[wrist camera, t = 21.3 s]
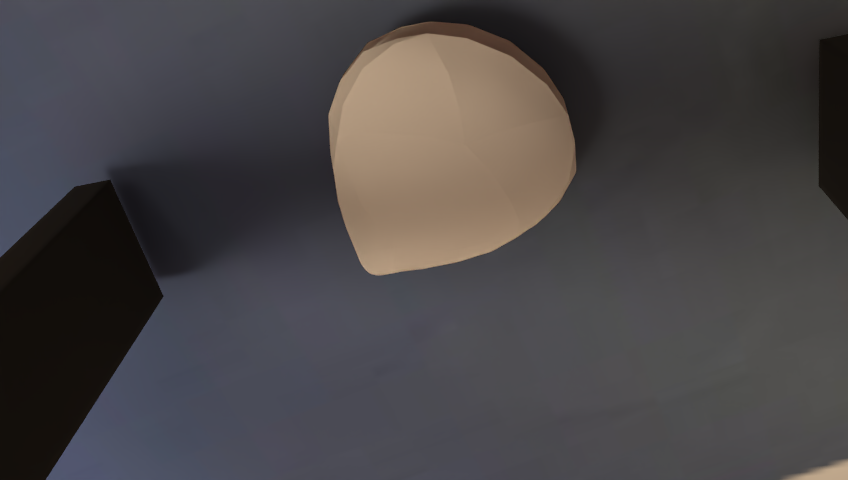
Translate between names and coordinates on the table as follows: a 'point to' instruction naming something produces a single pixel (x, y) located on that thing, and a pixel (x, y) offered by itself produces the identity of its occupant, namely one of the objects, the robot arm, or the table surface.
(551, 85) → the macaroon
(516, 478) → the table surface
